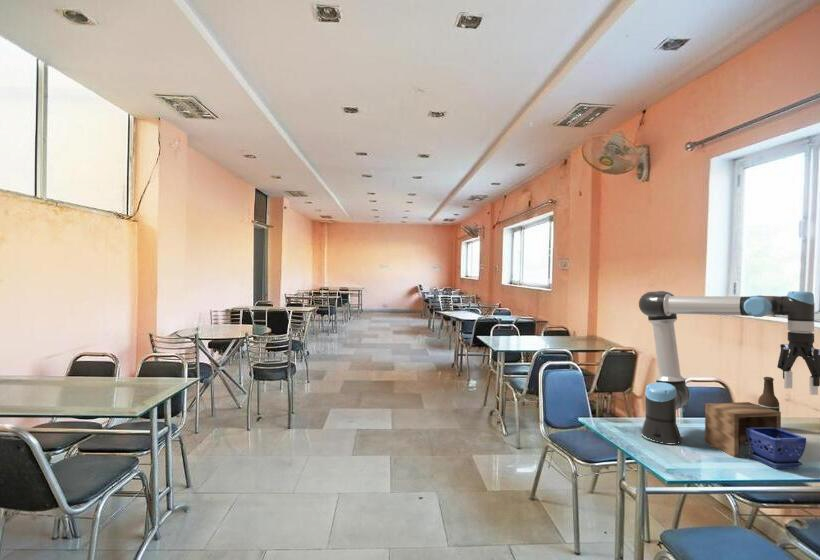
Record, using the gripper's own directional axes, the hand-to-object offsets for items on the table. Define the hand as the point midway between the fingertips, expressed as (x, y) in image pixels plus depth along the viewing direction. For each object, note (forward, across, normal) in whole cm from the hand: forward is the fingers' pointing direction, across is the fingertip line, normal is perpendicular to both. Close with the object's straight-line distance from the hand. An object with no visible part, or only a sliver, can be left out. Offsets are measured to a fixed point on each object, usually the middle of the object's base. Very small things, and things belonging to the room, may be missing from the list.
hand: (800, 391), depth 163 cm
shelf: (+27, +15, +10) cm, 33 cm away
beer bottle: (+28, +36, -25) cm, 52 cm away
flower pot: (+28, +1, +10) cm, 29 cm away
